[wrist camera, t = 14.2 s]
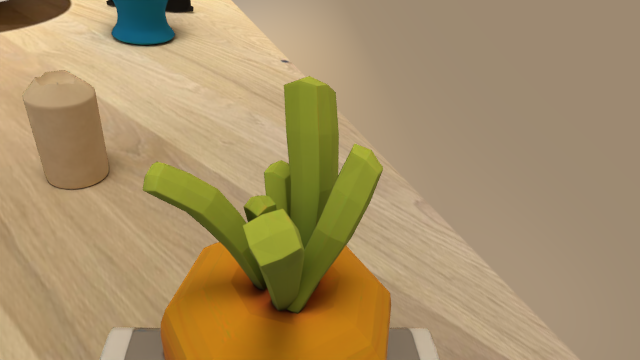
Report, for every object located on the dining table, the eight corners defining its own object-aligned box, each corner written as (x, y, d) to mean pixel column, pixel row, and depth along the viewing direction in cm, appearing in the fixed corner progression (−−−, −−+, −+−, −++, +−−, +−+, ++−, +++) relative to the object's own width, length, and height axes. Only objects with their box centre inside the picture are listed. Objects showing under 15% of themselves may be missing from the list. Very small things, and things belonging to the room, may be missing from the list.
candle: (110, 185, 41) (91, 88, 36) (43, 193, 39) (12, 91, 33) (109, 155, 45) (92, 63, 40) (48, 160, 43) (22, 65, 37)
